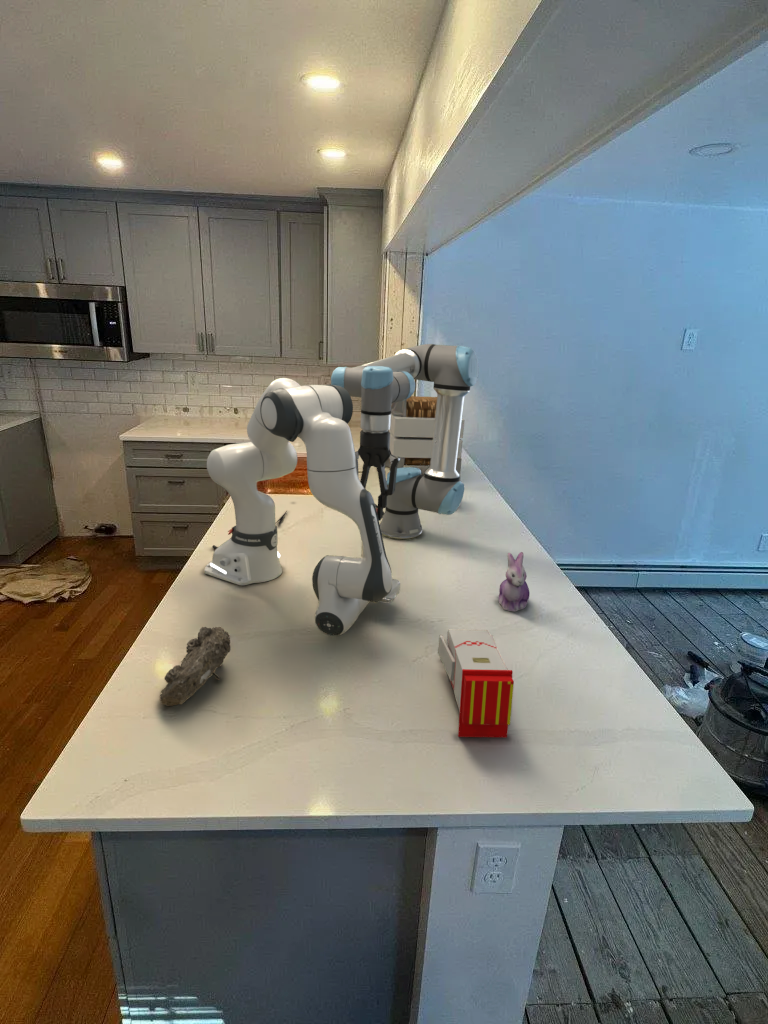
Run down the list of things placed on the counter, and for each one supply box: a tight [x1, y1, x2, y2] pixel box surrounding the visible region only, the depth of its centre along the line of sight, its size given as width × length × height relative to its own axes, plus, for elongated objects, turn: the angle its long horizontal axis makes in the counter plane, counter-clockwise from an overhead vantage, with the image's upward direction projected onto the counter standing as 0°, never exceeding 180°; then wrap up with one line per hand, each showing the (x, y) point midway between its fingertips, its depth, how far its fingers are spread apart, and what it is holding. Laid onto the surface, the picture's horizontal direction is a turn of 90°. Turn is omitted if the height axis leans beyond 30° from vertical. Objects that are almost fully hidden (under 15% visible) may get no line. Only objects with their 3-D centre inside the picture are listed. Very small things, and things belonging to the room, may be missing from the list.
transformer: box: [385, 395, 465, 481], centre depth 268 cm, size 34×33×41 cm
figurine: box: [497, 551, 530, 612], centre depth 152 cm, size 9×10×15 cm
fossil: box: [159, 626, 232, 707], centre depth 118 cm, size 22×10×15 cm
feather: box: [275, 510, 288, 528], centre depth 213 cm, size 2×28×2 cm
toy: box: [437, 628, 515, 738], centre depth 117 cm, size 12×13×30 cm
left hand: (370, 572), depth 156 cm, fingers closed on bottle, 5 cm apart
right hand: (372, 517), depth 150 cm, fingers closed on cap, 4 cm apart
